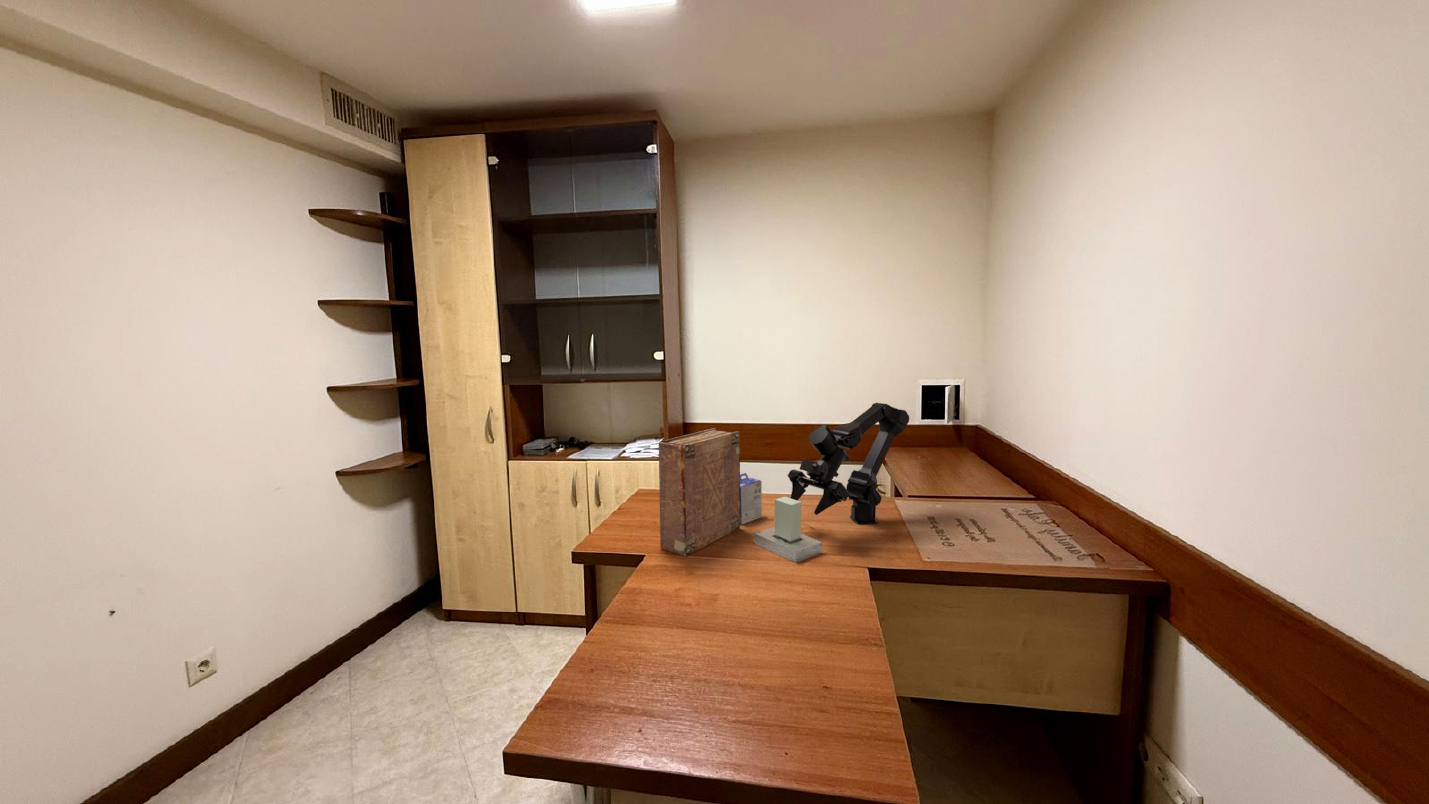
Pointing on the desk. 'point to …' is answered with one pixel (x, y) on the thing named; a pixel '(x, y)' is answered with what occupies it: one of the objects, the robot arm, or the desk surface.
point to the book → (698, 489)
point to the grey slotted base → (788, 545)
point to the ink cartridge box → (750, 499)
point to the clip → (788, 519)
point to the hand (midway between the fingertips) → (802, 509)
